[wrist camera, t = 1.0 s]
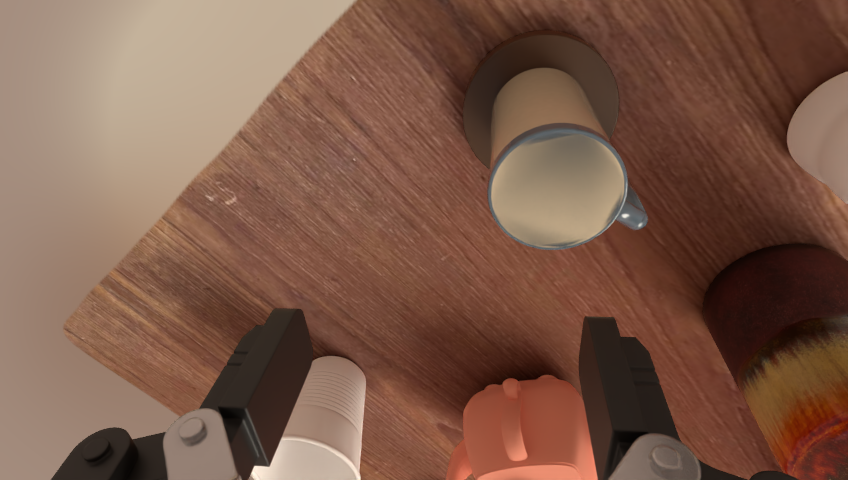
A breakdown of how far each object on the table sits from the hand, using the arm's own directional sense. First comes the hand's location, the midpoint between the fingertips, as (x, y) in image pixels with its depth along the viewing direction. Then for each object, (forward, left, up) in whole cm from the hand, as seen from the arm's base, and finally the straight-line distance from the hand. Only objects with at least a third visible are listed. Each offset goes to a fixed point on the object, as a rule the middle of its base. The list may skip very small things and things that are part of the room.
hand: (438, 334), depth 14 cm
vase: (+2, +29, -24) cm, 38 cm away
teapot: (+25, +22, -24) cm, 41 cm away
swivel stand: (-1, +4, -23) cm, 24 cm away
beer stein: (-1, +6, -22) cm, 23 cm away
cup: (+32, +3, -24) cm, 40 cm away
